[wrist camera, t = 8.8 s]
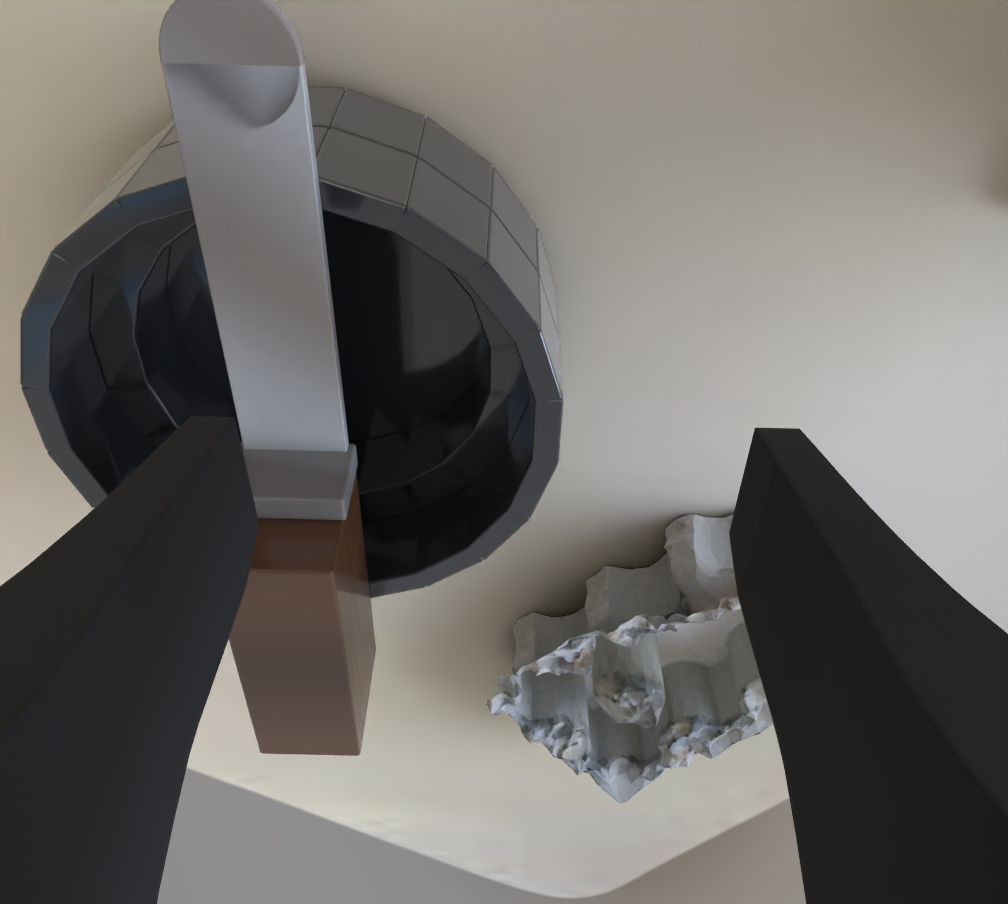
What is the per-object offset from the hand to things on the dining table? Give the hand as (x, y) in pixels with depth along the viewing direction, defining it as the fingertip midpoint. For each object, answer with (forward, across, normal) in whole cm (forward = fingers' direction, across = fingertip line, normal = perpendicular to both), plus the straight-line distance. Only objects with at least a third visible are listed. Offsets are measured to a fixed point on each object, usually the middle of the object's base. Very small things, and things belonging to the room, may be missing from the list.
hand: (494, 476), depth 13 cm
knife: (+5, +4, +4) cm, 8 cm away
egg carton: (+10, -6, +16) cm, 20 cm away
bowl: (+10, +4, +4) cm, 12 cm away
